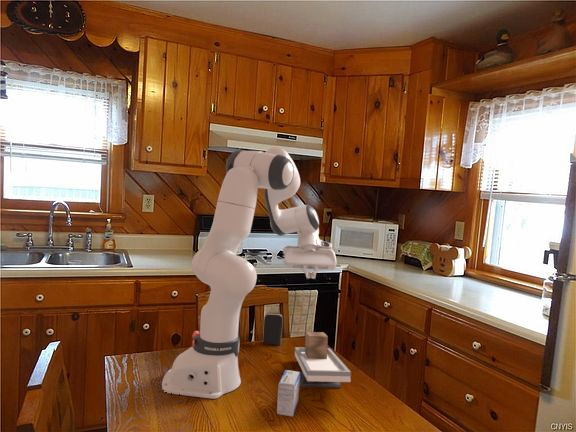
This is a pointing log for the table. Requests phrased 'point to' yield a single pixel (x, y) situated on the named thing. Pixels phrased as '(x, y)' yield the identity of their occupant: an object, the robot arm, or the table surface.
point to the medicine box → (288, 393)
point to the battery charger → (272, 328)
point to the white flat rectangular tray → (323, 367)
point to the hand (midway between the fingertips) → (310, 277)
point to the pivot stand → (317, 383)
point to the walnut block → (316, 345)
